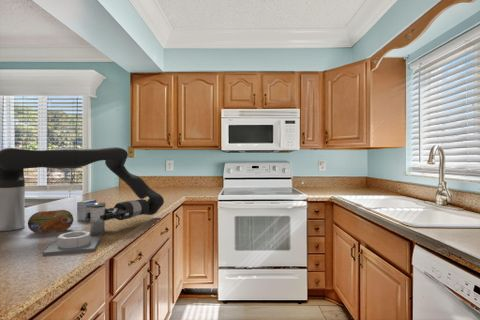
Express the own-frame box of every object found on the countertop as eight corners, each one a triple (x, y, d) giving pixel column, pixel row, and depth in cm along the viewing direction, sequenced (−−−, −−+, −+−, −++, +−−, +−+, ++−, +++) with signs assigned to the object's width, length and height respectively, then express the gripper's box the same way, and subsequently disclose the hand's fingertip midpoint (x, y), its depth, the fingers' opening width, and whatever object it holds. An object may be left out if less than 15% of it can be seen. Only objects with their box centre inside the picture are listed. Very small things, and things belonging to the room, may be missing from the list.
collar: (42, 255, 85) (42, 242, 85) (56, 242, 98) (56, 230, 98) (94, 251, 90) (94, 238, 90) (100, 238, 103) (100, 228, 103)
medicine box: (84, 220, 131) (85, 202, 131) (76, 220, 132) (76, 201, 132) (96, 217, 139) (96, 199, 139) (88, 216, 140) (89, 199, 139)
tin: (27, 234, 108) (27, 212, 108) (29, 232, 110) (29, 211, 110) (73, 230, 115) (73, 209, 114) (73, 228, 117) (73, 208, 117)
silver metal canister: (88, 236, 105) (88, 204, 105) (91, 233, 111) (91, 202, 110) (104, 235, 107) (104, 204, 107) (106, 231, 112) (106, 202, 112)
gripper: (116, 200, 125) (82, 205, 111) (140, 202, 120) (108, 208, 105) (115, 216, 126) (82, 224, 111) (140, 220, 120) (108, 228, 105)
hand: (95, 216), depth 108 cm, fingers open, 8 cm apart
